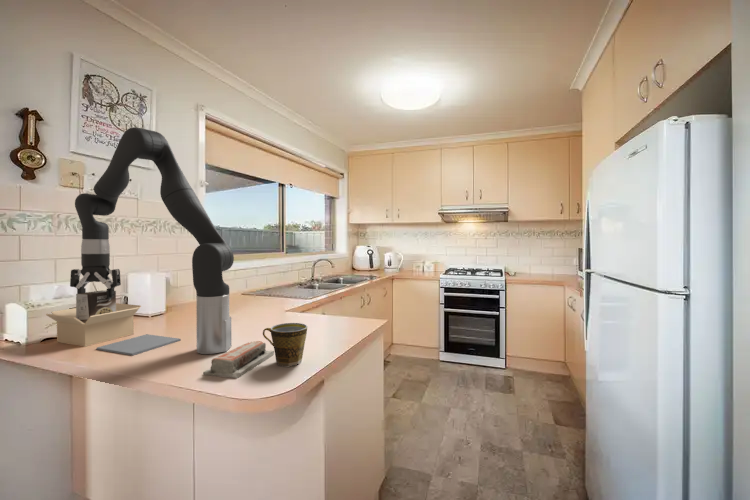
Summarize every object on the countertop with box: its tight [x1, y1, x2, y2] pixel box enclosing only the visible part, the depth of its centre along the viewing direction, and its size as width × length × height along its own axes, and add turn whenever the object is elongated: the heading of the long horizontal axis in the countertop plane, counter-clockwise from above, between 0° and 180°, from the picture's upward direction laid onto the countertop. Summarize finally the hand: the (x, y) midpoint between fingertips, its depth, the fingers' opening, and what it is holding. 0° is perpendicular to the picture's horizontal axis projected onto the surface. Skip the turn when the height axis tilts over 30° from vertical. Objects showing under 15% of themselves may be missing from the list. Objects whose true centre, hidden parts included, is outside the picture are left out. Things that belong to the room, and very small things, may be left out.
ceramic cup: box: [262, 322, 308, 367], centre depth 93 cm, size 13×10×10 cm
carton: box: [45, 302, 142, 347], centre depth 115 cm, size 20×21×10 cm
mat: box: [96, 333, 181, 356], centre depth 107 cm, size 16×16×1 cm
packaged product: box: [202, 340, 275, 379], centre depth 91 cm, size 18×5×10 cm
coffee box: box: [75, 290, 117, 323], centre depth 115 cm, size 9×6×16 cm
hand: (95, 299), depth 114 cm, fingers open, 8 cm apart
